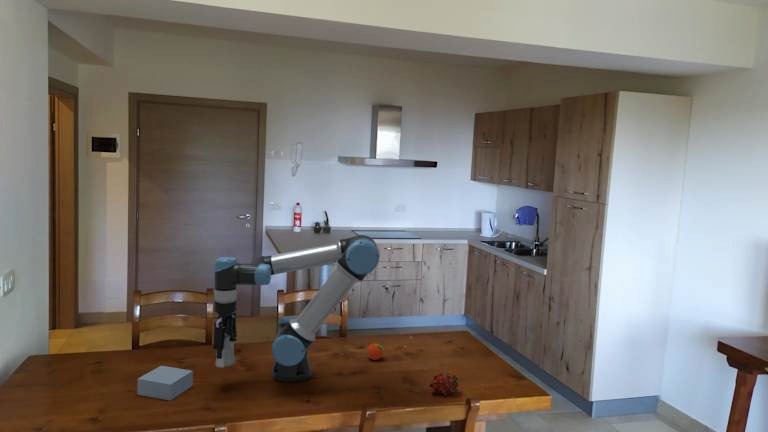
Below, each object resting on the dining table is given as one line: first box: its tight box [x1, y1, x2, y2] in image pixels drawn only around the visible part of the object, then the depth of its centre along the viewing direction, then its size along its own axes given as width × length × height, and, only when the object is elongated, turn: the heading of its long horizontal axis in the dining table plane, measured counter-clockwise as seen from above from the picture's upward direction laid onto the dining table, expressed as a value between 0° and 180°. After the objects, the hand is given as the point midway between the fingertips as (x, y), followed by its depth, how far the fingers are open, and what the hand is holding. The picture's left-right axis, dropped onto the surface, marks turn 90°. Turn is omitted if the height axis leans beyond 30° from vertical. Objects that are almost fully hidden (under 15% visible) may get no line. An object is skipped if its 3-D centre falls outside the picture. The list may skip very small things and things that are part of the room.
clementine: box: [366, 343, 385, 361], centre depth 236 cm, size 8×7×7 cm
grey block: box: [136, 365, 194, 401], centre depth 194 cm, size 13×13×6 cm
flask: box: [214, 334, 237, 367], centre depth 198 cm, size 7×7×10 cm
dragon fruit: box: [429, 371, 459, 396], centre depth 205 cm, size 8×8×12 cm
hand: (225, 362), depth 199 cm, fingers closed on flask, 7 cm apart
